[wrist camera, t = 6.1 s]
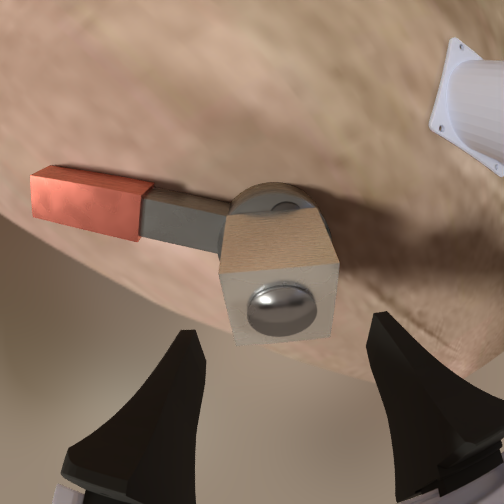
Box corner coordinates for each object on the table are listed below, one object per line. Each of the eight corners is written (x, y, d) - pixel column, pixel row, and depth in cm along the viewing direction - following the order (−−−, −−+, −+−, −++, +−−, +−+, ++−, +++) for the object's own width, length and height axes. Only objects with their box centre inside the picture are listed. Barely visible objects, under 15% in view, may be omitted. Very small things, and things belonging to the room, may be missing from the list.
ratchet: (337, 198, 18) (361, 230, 14) (303, 282, 22) (313, 326, 18) (50, 141, 16) (8, 158, 12) (52, 224, 19) (18, 254, 15)
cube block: (316, 207, 16) (341, 267, 11) (315, 276, 18) (331, 341, 14) (226, 215, 16) (217, 278, 12) (238, 283, 19) (235, 350, 14)
